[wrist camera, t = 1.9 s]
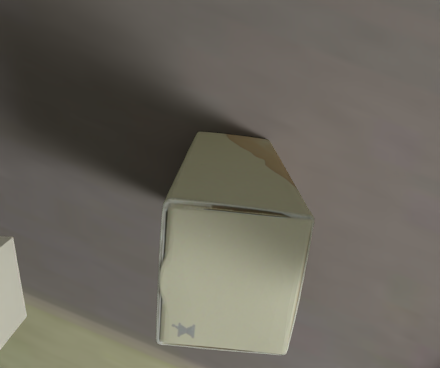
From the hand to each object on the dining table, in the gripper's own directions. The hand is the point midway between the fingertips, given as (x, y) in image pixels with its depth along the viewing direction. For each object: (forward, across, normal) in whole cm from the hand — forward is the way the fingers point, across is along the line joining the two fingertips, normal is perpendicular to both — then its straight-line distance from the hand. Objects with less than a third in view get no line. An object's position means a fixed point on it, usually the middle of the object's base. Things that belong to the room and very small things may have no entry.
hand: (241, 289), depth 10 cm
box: (+11, 0, 0) cm, 11 cm away
